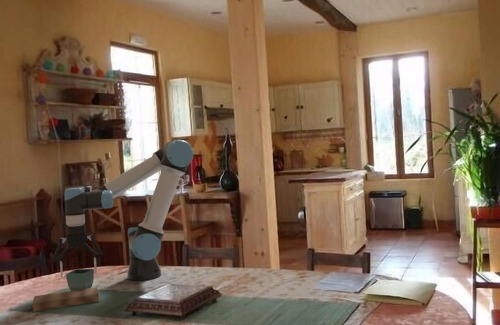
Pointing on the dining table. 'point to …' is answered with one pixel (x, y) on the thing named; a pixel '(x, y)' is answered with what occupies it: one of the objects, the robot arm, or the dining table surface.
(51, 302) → the walnut board
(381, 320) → the dining table surface
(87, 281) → the flower pot
